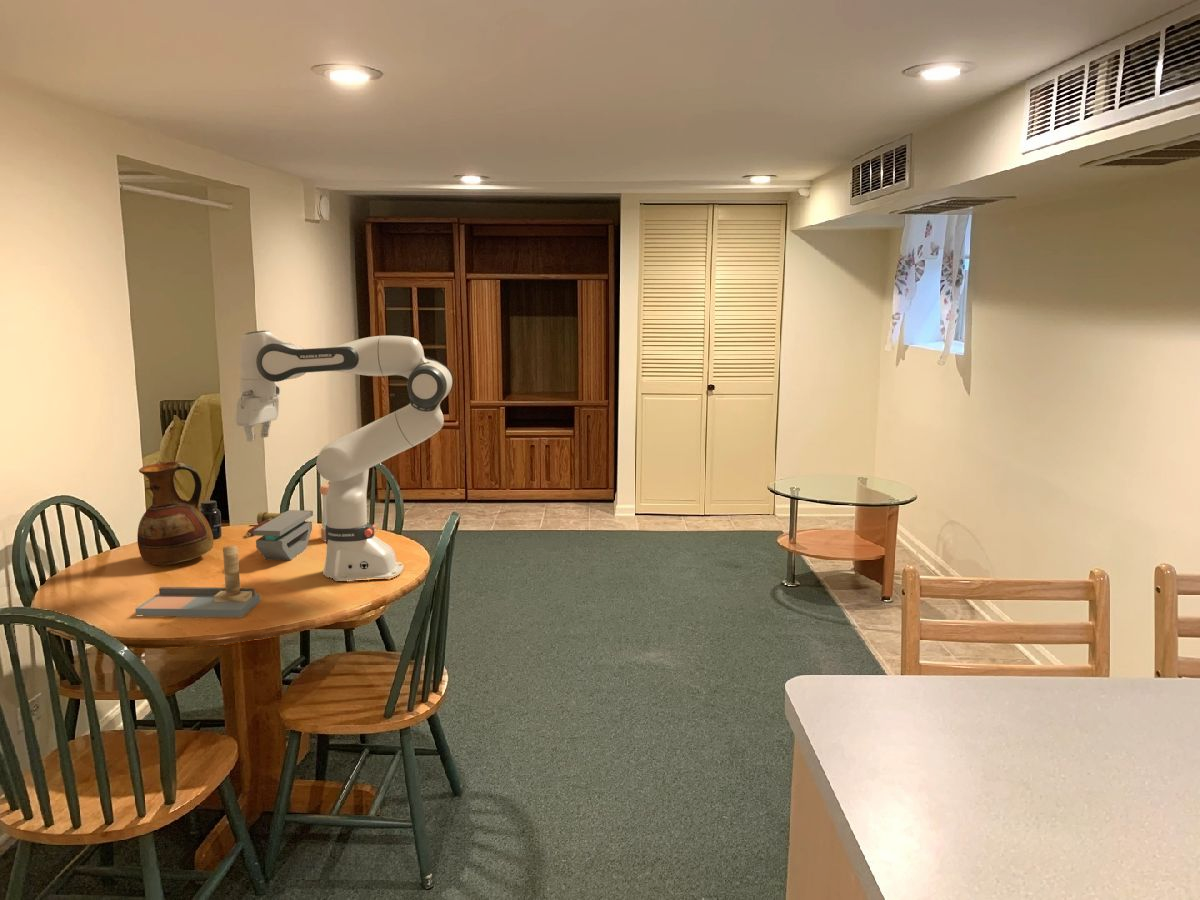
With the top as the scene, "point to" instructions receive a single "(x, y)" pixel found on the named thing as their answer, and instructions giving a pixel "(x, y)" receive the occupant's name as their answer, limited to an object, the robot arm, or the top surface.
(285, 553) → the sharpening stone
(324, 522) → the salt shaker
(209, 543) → the ceramic pitcher
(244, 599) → the beige post stand
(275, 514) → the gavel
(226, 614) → the board
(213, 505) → the supplement bottle
